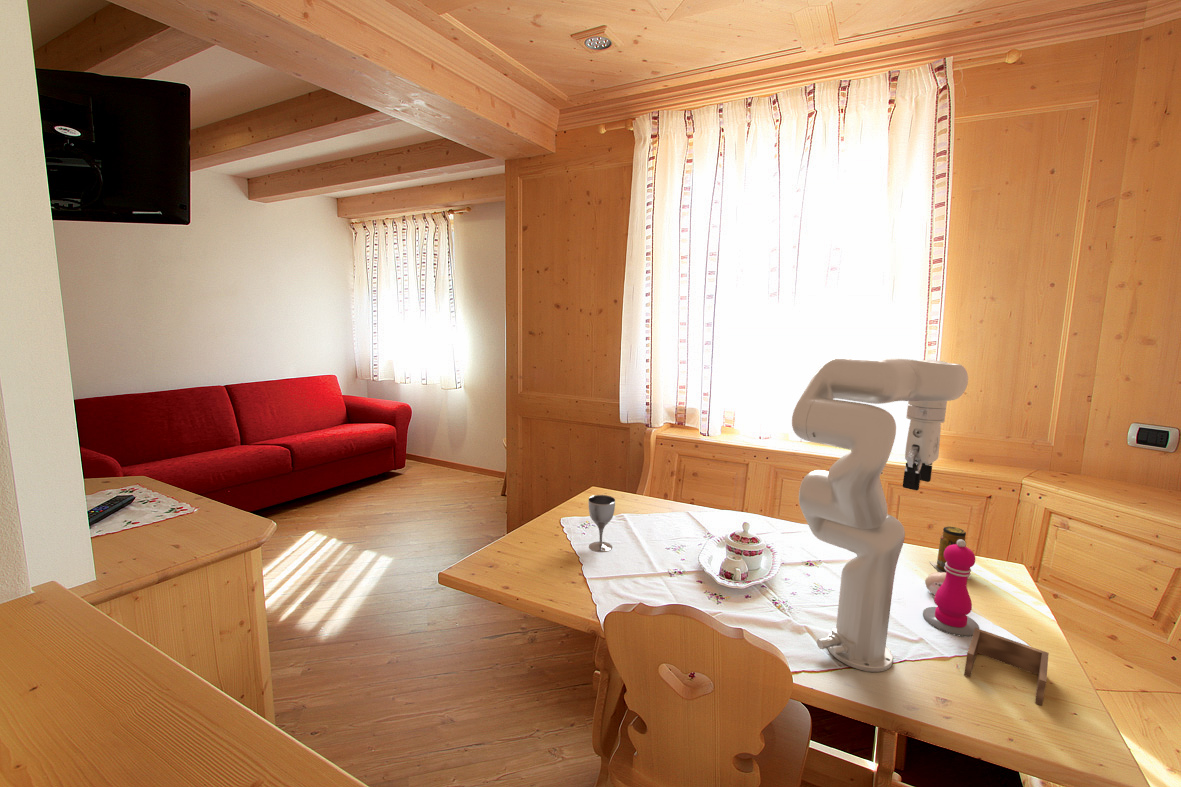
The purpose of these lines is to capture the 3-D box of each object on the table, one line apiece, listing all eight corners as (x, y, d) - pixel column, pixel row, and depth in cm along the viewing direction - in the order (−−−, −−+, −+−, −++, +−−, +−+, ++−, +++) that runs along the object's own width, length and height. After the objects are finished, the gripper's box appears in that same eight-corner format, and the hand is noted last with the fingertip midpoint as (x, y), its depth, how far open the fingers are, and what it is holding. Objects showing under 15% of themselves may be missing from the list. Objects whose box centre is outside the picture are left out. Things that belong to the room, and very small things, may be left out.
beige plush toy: (943, 603, 132) (947, 574, 130) (919, 590, 138) (922, 562, 136) (960, 598, 134) (964, 569, 133) (936, 586, 140) (940, 558, 139)
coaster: (955, 640, 117) (955, 637, 117) (911, 612, 127) (912, 610, 127) (990, 632, 120) (991, 629, 120) (945, 606, 131) (946, 603, 130)
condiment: (956, 565, 152) (962, 526, 150) (972, 579, 144) (978, 538, 142) (929, 562, 154) (934, 523, 152) (942, 576, 145) (948, 535, 143)
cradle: (963, 675, 106) (967, 652, 105) (972, 648, 114) (975, 627, 113) (1042, 706, 98) (1046, 681, 97) (1044, 675, 106) (1048, 652, 105)
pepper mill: (960, 613, 126) (972, 535, 123) (975, 631, 119) (987, 548, 116) (927, 609, 128) (937, 531, 125) (939, 626, 121) (950, 544, 118)
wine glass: (586, 541, 162) (587, 495, 160) (611, 540, 163) (613, 494, 161) (588, 553, 155) (590, 504, 152) (615, 552, 155) (617, 504, 153)
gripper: (934, 420, 113) (924, 496, 116) (953, 412, 125) (944, 481, 128) (896, 415, 119) (887, 488, 121) (918, 407, 131) (909, 473, 133)
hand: (916, 484), depth 125 cm, fingers open, 9 cm apart
